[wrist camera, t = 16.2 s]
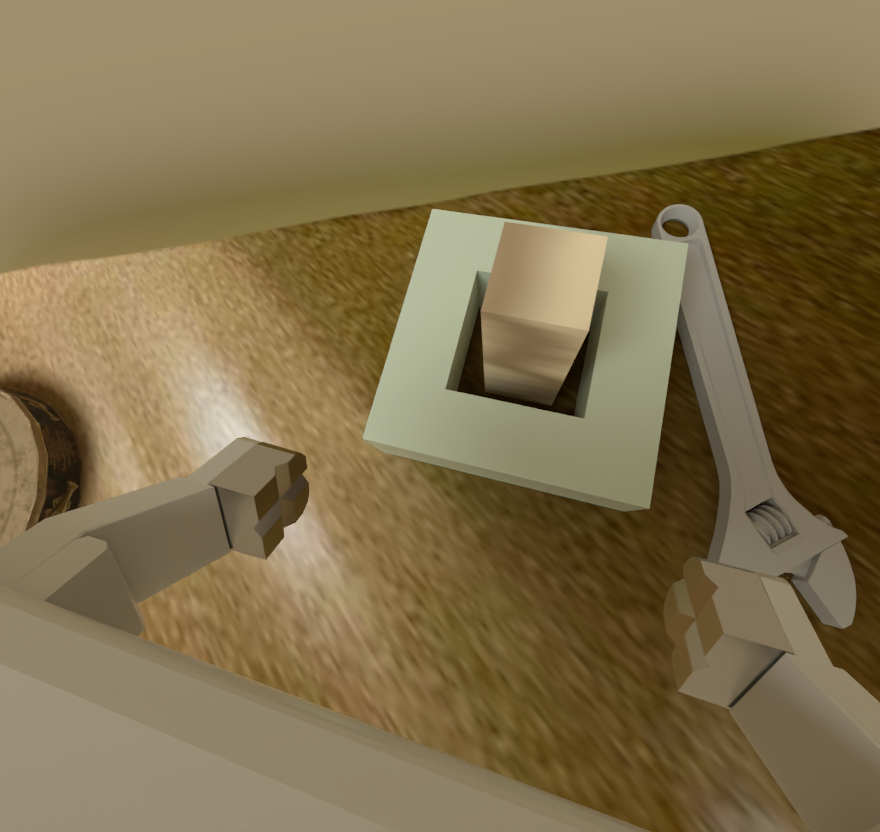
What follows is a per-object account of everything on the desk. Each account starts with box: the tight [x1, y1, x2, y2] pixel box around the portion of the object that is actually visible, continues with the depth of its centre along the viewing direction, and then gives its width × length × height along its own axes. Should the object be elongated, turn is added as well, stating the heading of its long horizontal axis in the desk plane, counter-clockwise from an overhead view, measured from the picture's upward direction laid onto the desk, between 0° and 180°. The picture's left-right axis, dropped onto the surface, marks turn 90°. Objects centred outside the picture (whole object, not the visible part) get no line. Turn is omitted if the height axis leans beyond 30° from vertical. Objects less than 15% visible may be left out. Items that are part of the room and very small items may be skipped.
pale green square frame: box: [362, 209, 688, 511], centre depth 24 cm, size 14×14×4 cm
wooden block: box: [481, 222, 608, 406], centre depth 21 cm, size 4×4×10 cm
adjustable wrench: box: [652, 204, 856, 629], centre depth 23 cm, size 25×6×2 cm, turn 1°
